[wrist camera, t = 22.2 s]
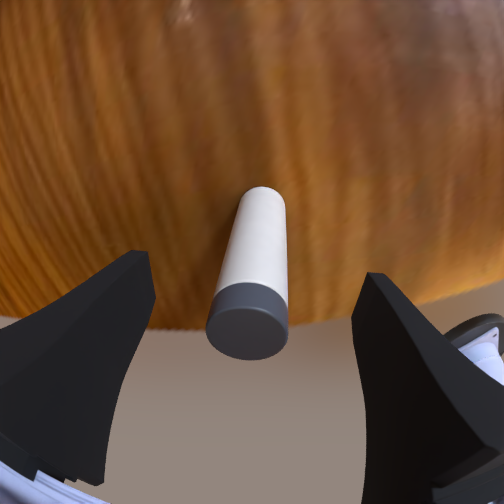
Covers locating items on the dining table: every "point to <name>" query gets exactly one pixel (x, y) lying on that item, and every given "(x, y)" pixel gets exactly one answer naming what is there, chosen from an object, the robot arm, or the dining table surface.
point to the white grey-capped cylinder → (253, 281)
